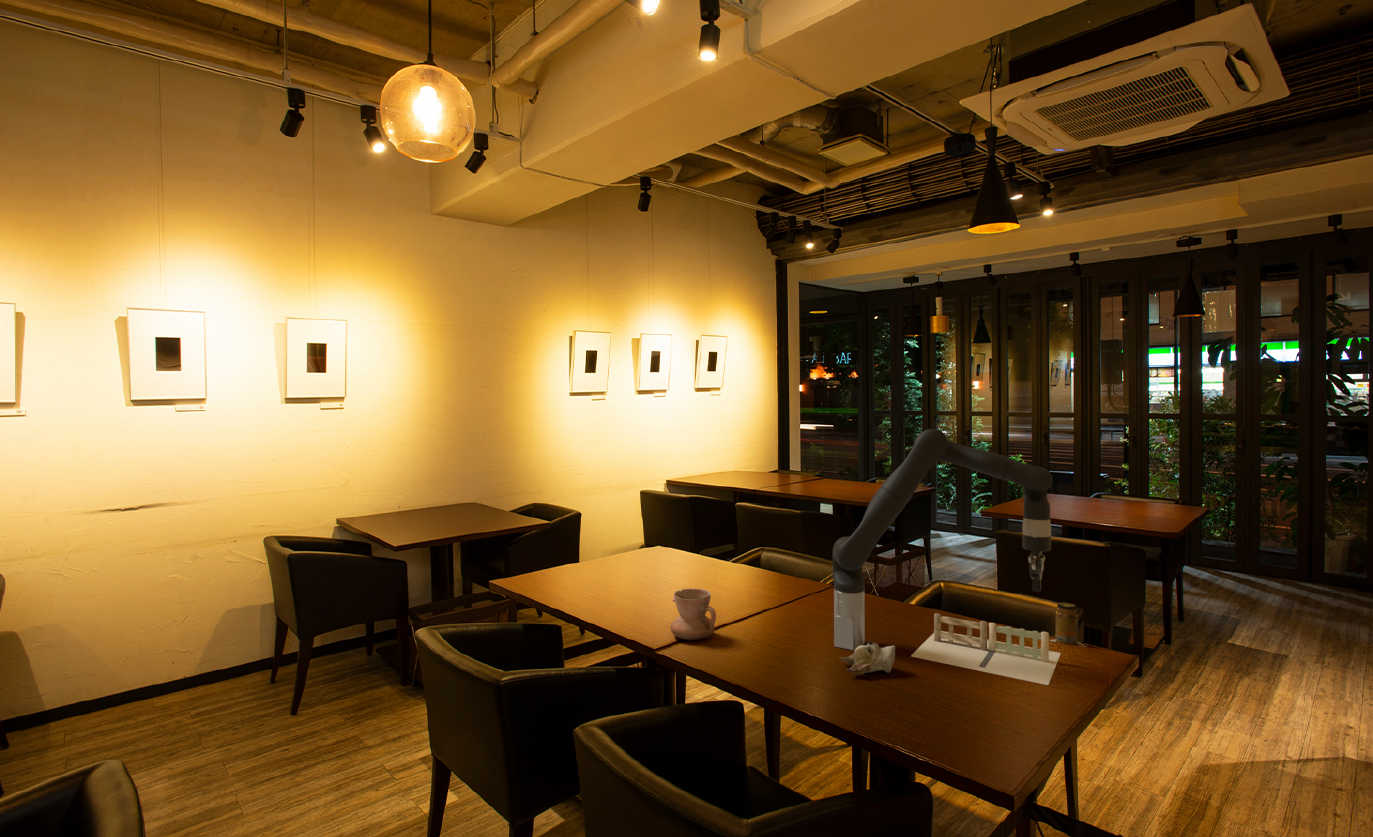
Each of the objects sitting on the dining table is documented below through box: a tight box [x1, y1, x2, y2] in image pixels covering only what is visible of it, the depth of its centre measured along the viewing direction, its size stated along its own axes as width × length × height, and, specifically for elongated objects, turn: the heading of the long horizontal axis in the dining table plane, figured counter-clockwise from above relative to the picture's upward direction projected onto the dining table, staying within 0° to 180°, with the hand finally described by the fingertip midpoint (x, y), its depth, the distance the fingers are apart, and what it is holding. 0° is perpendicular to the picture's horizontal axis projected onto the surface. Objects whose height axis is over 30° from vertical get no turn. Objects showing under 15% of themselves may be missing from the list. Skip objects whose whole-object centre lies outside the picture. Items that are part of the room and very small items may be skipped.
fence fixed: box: [933, 612, 988, 651], centre depth 205 cm, size 16×2×8 cm, turn 55°
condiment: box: [1049, 602, 1088, 648], centre depth 207 cm, size 7×8×12 cm
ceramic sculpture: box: [838, 640, 896, 675], centre depth 186 cm, size 11×9×15 cm
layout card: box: [910, 630, 1061, 686], centre depth 197 cm, size 28×36×1 cm
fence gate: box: [988, 622, 1050, 662], centre depth 196 cm, size 16×2×8 cm, turn 55°
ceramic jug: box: [669, 588, 717, 641], centre depth 214 cm, size 18×14×14 cm
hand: (1036, 591), depth 198 cm, fingers closed
